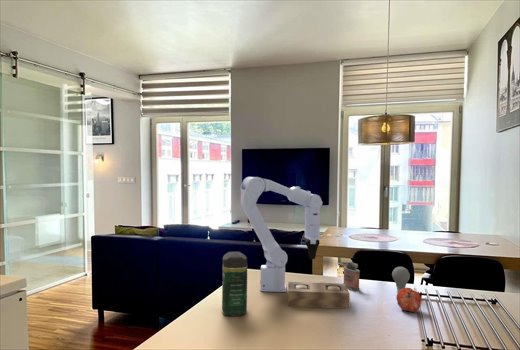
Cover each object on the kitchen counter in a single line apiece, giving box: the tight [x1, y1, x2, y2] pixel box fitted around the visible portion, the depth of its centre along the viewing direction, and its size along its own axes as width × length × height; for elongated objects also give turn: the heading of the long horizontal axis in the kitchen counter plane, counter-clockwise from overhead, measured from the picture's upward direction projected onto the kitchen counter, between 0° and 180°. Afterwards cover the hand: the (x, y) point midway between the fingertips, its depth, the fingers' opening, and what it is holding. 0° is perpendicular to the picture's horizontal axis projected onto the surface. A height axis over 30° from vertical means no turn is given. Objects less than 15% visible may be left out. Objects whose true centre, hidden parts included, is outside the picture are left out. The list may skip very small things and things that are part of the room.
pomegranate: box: [396, 287, 422, 313], centre depth 115 cm, size 7×7×10 cm
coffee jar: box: [221, 251, 248, 317], centre depth 113 cm, size 10×8×19 cm
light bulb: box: [391, 266, 411, 293], centre depth 130 cm, size 6×6×10 cm
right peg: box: [328, 286, 340, 290], centre depth 121 cm, size 4×4×5 cm
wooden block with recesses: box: [287, 281, 351, 309], centre depth 121 cm, size 20×10×5 cm, turn 85°
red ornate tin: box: [342, 261, 361, 292], centre depth 136 cm, size 8×3×10 cm, turn 25°
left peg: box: [296, 285, 307, 289], centre depth 122 cm, size 4×4×5 cm
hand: (312, 258), depth 139 cm, fingers closed
